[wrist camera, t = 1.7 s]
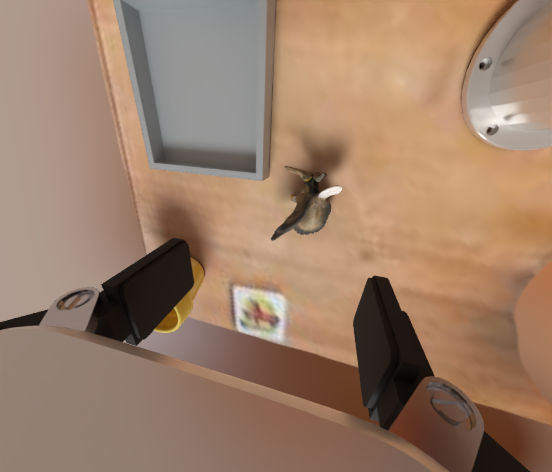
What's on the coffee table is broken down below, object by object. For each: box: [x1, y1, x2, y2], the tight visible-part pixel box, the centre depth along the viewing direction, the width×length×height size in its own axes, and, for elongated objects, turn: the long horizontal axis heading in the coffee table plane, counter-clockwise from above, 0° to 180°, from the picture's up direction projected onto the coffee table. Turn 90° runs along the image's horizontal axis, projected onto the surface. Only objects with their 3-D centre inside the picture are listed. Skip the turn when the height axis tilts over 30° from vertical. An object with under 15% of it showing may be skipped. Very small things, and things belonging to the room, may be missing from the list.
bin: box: [113, 0, 276, 181], centre depth 23 cm, size 16×17×3 cm
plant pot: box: [154, 257, 204, 333], centre depth 33 cm, size 10×10×10 cm
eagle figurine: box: [271, 166, 343, 241], centre depth 24 cm, size 8×7×9 cm
